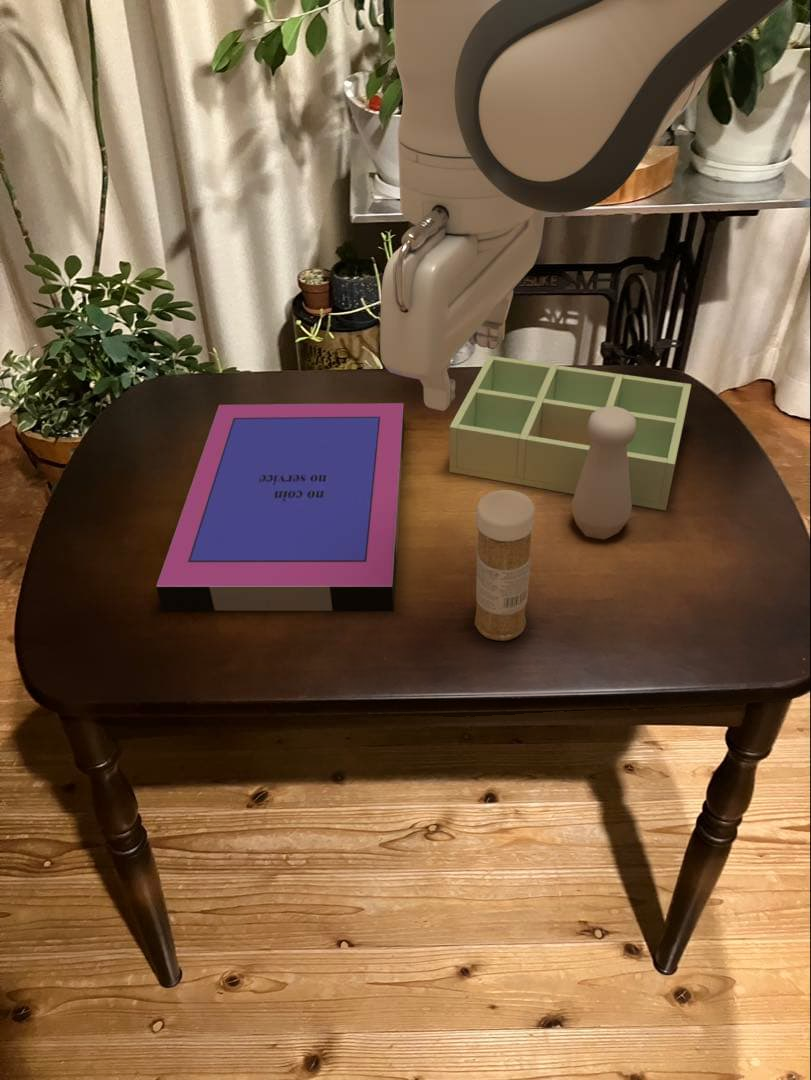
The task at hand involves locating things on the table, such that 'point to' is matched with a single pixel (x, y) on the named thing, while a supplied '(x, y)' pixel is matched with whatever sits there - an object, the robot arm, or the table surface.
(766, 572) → the table surface
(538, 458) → the rack
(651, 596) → the table surface
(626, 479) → the salt shaker
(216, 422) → the book
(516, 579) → the sprinkles bottle
